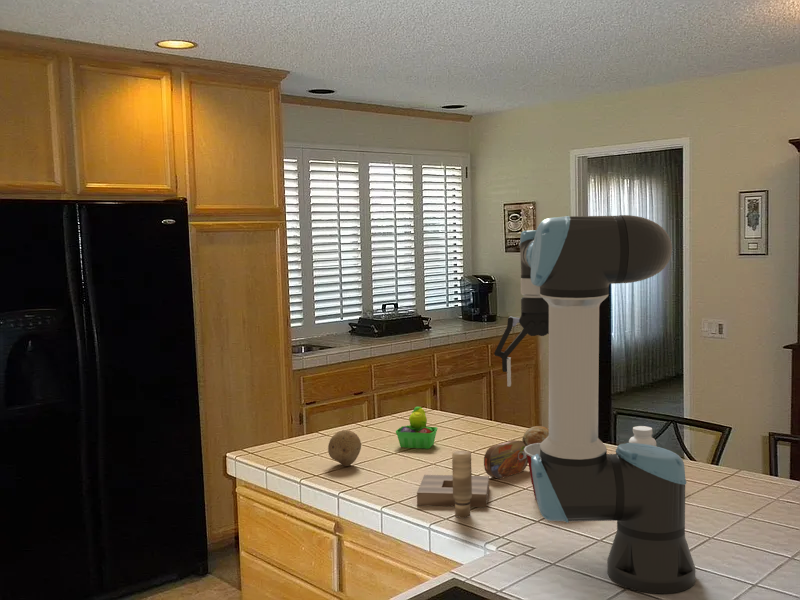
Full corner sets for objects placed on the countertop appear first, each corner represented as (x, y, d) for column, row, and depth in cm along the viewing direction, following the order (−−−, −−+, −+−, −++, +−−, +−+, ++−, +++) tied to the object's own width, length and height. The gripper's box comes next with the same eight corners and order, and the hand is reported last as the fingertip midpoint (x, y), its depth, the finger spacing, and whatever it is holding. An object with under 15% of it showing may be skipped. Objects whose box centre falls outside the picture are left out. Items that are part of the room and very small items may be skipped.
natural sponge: (346, 472, 210) (345, 436, 209) (321, 467, 215) (320, 431, 214) (368, 464, 217) (367, 429, 216) (343, 459, 222) (342, 425, 222)
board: (486, 507, 180) (486, 494, 180) (417, 505, 183) (416, 492, 183) (489, 488, 194) (488, 476, 194) (424, 486, 197) (424, 474, 196)
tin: (490, 481, 199) (490, 449, 199) (481, 479, 202) (481, 446, 201) (530, 469, 209) (530, 438, 208) (521, 467, 211) (521, 436, 211)
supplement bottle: (626, 480, 198) (626, 429, 197) (631, 473, 203) (631, 424, 202) (653, 483, 194) (653, 432, 194) (658, 476, 200) (658, 426, 199)
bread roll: (521, 456, 235) (510, 434, 233) (546, 438, 238) (536, 415, 236) (540, 464, 226) (530, 441, 224) (566, 445, 229) (556, 422, 227)
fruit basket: (395, 448, 234) (394, 410, 233) (403, 441, 242) (402, 404, 241) (432, 450, 230) (431, 412, 229) (439, 442, 239) (438, 406, 238)
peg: (471, 518, 173) (470, 455, 172) (452, 517, 174) (451, 455, 173) (472, 511, 177) (471, 450, 176) (454, 511, 178) (453, 450, 177)
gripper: (590, 294, 186) (591, 383, 188) (485, 295, 191) (486, 382, 192) (592, 296, 179) (593, 389, 180) (482, 297, 183) (484, 388, 185)
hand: (538, 385), depth 186 cm, fingers open, 13 cm apart
